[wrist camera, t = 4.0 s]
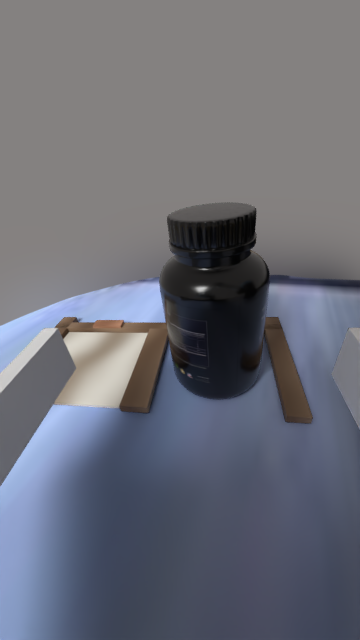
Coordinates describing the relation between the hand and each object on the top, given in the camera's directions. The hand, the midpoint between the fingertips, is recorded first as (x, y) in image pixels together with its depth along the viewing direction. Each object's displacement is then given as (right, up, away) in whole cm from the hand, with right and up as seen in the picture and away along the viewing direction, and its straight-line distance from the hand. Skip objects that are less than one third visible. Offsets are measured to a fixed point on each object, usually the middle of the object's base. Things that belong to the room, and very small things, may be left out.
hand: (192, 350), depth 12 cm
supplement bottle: (+2, -3, +8) cm, 9 cm away
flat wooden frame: (-3, -2, +10) cm, 11 cm away
